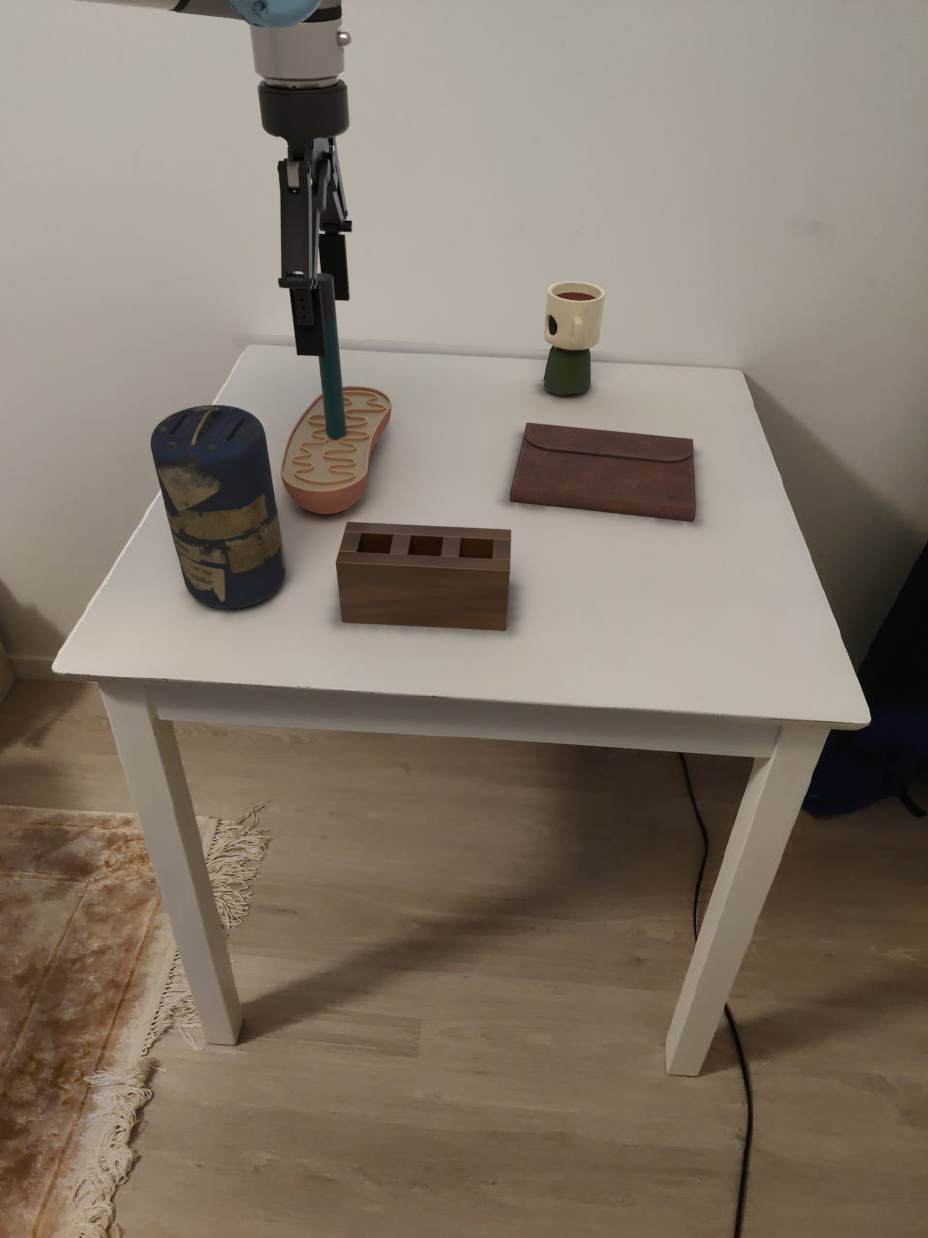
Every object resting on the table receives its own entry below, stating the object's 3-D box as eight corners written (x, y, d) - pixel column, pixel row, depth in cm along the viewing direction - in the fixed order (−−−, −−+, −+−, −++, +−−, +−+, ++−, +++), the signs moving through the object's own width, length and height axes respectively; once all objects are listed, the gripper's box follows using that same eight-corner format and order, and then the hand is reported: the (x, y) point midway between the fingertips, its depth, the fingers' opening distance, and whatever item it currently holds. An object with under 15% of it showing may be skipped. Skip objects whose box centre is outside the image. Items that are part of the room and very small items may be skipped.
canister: (166, 600, 80) (117, 429, 68) (223, 545, 87) (188, 379, 75) (253, 627, 78) (218, 454, 66) (306, 567, 84) (283, 400, 72)
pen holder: (506, 630, 78) (510, 570, 73) (341, 622, 78) (335, 562, 74) (507, 588, 82) (511, 529, 78) (352, 580, 83) (346, 521, 78)
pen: (332, 439, 93) (316, 282, 82) (322, 431, 94) (306, 275, 83) (350, 434, 94) (336, 277, 82) (340, 425, 95) (326, 270, 84)
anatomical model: (362, 534, 88) (358, 493, 85) (268, 527, 89) (261, 486, 86) (399, 425, 105) (397, 388, 102) (320, 420, 106) (316, 382, 103)
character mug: (537, 369, 118) (544, 274, 109) (588, 370, 118) (600, 275, 109) (542, 408, 109) (550, 307, 101) (597, 408, 109) (610, 308, 101)
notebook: (693, 523, 91) (696, 507, 90) (509, 502, 93) (510, 487, 92) (689, 451, 102) (693, 436, 101) (525, 434, 104) (526, 420, 103)
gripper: (318, 112, 62) (341, 383, 76) (367, 54, 81) (378, 280, 95) (216, 109, 63) (258, 379, 77) (289, 51, 81) (311, 278, 95)
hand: (325, 325), depth 86 cm, fingers open, 13 cm apart
